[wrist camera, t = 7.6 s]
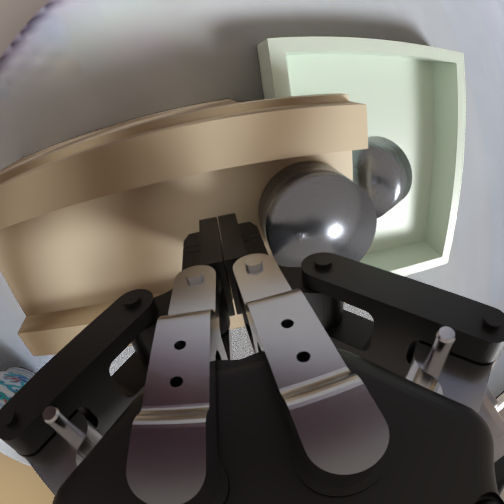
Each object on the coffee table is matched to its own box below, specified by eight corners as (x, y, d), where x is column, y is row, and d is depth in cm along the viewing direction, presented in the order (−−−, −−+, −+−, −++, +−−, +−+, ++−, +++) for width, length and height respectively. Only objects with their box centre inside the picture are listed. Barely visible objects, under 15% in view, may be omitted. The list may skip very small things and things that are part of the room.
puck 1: (343, 149, 13) (370, 164, 11) (355, 234, 15) (379, 261, 13) (245, 178, 13) (255, 199, 11) (272, 263, 15) (284, 295, 13)
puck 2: (322, 143, 17) (346, 135, 18) (333, 213, 19) (354, 200, 20) (390, 145, 14) (409, 137, 15) (396, 226, 16) (413, 210, 17)
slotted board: (304, 89, 17) (366, 96, 10) (315, 236, 22) (361, 303, 15) (19, 159, 15) (-49, 203, 9) (68, 285, 20) (36, 359, 14)
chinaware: (6, 317, 21) (-26, 382, 14) (116, 405, 29) (110, 467, 22) (-37, 362, 23) (-58, 410, 16) (49, 428, 31) (41, 475, 24)
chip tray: (435, 52, 16) (463, 53, 13) (427, 245, 24) (447, 263, 21) (256, 45, 15) (267, 38, 12) (284, 278, 23) (294, 303, 21)
